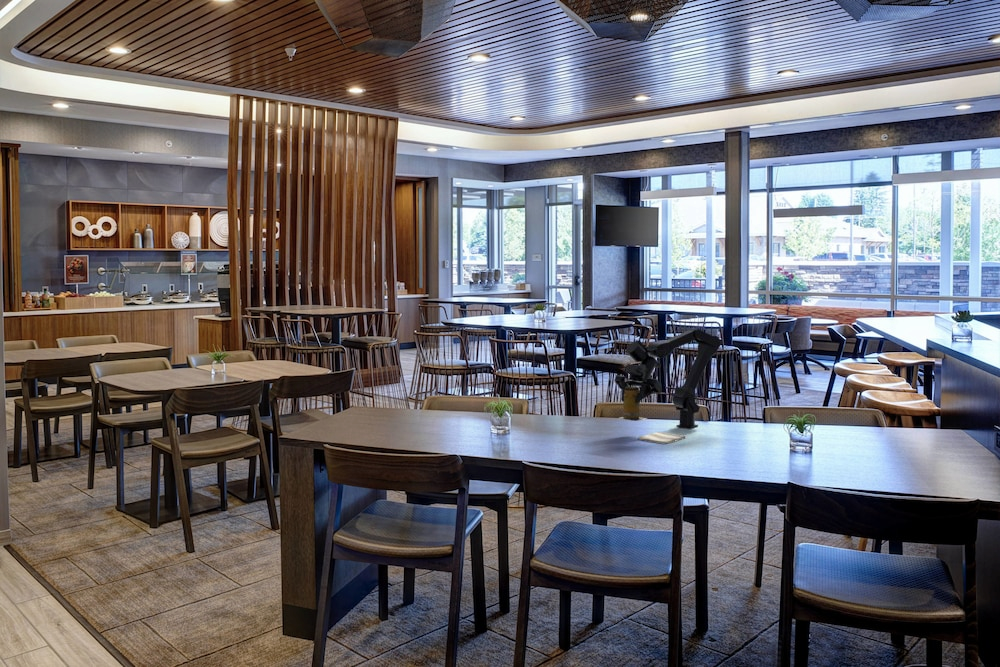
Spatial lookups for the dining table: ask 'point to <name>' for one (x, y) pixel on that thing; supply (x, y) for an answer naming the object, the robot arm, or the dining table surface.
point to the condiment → (631, 404)
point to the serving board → (661, 437)
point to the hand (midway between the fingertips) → (629, 401)
